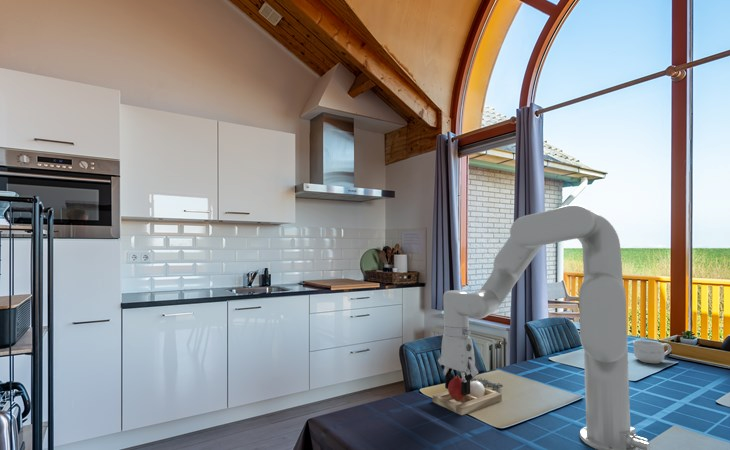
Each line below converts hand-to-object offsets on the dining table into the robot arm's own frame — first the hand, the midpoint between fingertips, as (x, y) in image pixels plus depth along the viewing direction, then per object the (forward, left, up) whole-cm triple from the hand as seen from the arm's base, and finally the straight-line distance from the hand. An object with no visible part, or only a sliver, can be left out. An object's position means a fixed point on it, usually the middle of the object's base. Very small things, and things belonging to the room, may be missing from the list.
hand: (457, 390), depth 121 cm
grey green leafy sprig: (+4, -18, -6) cm, 19 cm away
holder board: (0, -4, -5) cm, 7 cm away
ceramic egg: (0, -9, -4) cm, 9 cm away
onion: (0, 0, -3) cm, 3 cm away
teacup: (-15, -100, -6) cm, 101 cm away
